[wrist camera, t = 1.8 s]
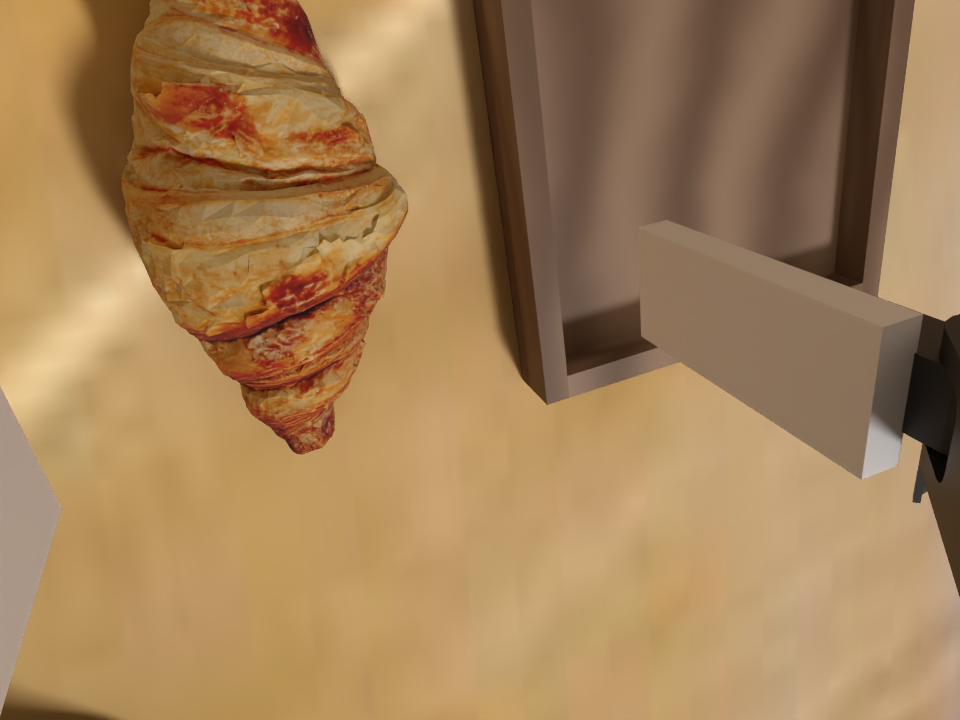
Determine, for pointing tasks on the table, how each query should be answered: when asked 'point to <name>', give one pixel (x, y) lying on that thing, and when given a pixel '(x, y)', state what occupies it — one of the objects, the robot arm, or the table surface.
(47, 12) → the table surface
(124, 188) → the croissant
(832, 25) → the tray
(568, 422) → the table surface
